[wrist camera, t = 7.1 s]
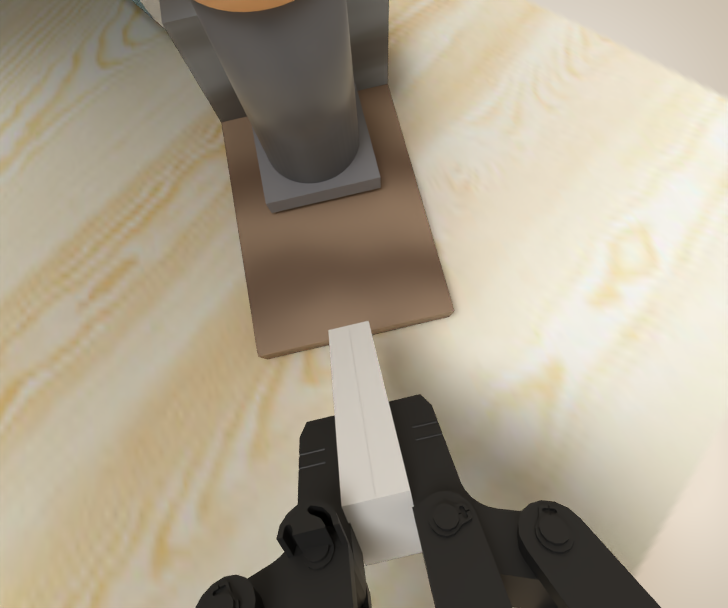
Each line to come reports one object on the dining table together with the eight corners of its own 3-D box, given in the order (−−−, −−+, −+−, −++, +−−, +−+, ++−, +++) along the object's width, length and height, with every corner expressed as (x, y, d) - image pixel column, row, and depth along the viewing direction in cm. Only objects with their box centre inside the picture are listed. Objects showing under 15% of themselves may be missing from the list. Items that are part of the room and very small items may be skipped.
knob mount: (449, 316, 20) (486, 272, 13) (267, 359, 20) (200, 339, 13) (372, 53, 24) (368, -94, 17) (223, 87, 24) (153, -45, 17)
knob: (380, 187, 20) (377, -50, 9) (271, 213, 20) (141, 5, 9) (356, 96, 21) (329, -201, 11) (254, 120, 21) (124, -154, 11)
